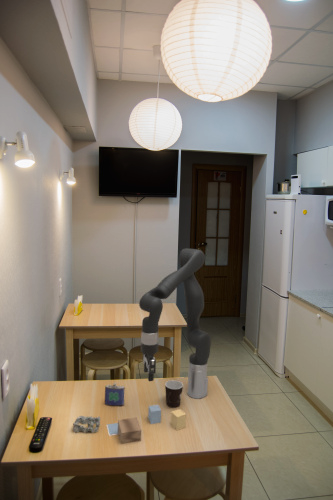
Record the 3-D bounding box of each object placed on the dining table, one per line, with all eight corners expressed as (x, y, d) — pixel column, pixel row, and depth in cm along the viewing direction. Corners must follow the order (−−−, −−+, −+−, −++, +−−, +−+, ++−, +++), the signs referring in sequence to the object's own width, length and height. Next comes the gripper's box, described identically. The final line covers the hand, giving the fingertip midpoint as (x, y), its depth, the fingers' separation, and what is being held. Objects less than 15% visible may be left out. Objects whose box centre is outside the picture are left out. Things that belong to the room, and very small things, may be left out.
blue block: (157, 417, 160) (158, 404, 160) (160, 423, 156) (161, 410, 155) (148, 418, 159) (148, 405, 158) (150, 424, 155) (151, 411, 154)
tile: (124, 422, 155) (124, 421, 155) (127, 433, 148) (127, 432, 148) (106, 425, 153) (106, 424, 153) (109, 435, 146) (109, 435, 146)
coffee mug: (173, 397, 177) (173, 378, 176) (185, 404, 171) (186, 385, 170) (155, 405, 169) (156, 386, 168) (168, 413, 163) (169, 393, 162)
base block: (136, 428, 151) (137, 417, 150) (140, 441, 143) (141, 430, 143) (117, 430, 149) (118, 420, 148) (121, 444, 141) (121, 433, 140)
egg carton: (71, 433, 147) (71, 424, 146) (77, 422, 154) (77, 413, 154) (96, 435, 146) (97, 425, 146) (101, 424, 154) (101, 415, 153)
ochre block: (179, 421, 158) (180, 409, 157) (185, 427, 154) (185, 414, 153) (170, 424, 155) (171, 411, 155) (176, 430, 151) (177, 417, 151)
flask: (124, 403, 170) (125, 382, 169) (123, 406, 167) (124, 385, 166) (105, 402, 171) (105, 381, 169) (103, 405, 168) (104, 384, 166)
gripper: (162, 346, 150) (160, 383, 152) (154, 334, 163) (152, 368, 165) (144, 348, 147) (143, 385, 149) (138, 335, 161) (137, 369, 163)
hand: (148, 376), depth 157 cm, fingers open, 8 cm apart
